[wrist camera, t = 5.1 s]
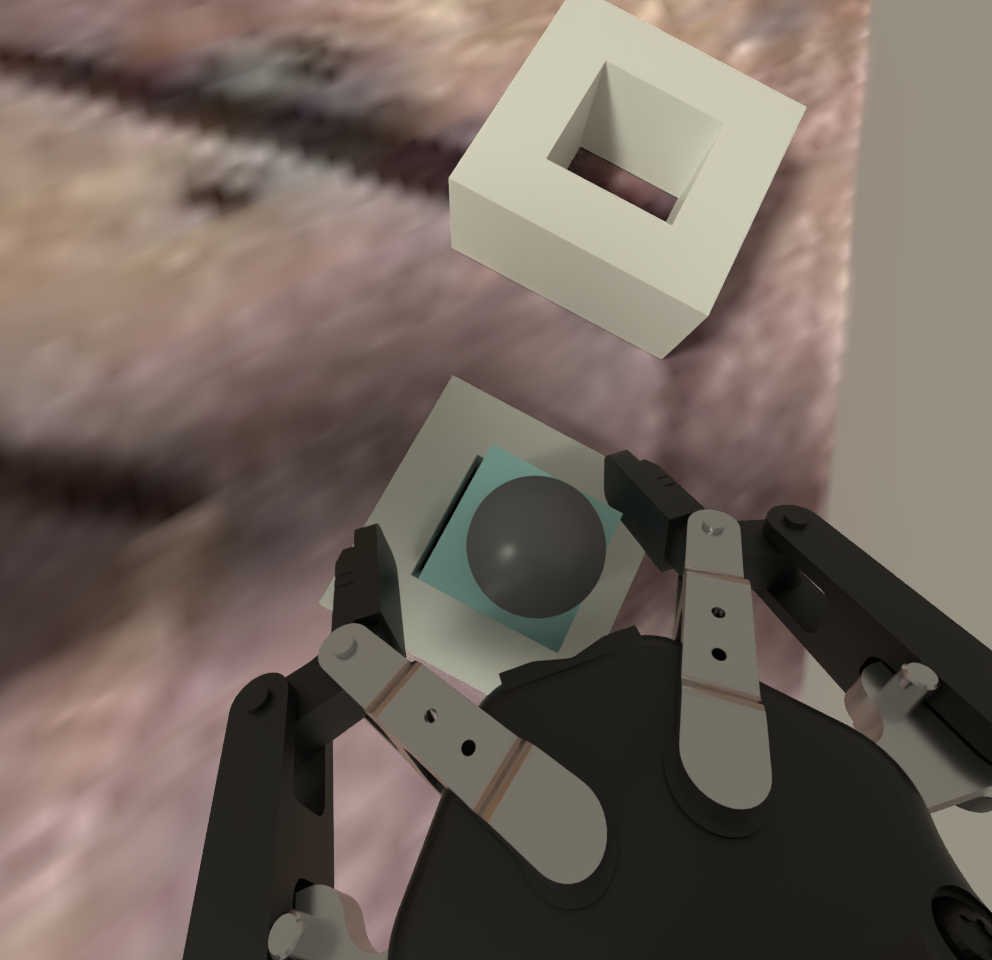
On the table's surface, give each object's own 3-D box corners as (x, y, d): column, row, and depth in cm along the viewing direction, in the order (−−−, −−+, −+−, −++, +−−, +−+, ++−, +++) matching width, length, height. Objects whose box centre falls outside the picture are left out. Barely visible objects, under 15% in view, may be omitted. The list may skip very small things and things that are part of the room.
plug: (437, 563, 18) (406, 586, 8) (480, 485, 19) (498, 421, 9) (517, 606, 18) (580, 679, 8) (556, 526, 19) (657, 506, 9)
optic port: (451, 247, 21) (448, 178, 17) (556, 82, 23) (575, -15, 19) (661, 359, 21) (708, 315, 17) (746, 183, 23) (806, 107, 19)
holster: (342, 593, 18) (318, 603, 15) (454, 401, 19) (452, 374, 16) (546, 703, 18) (563, 735, 15) (640, 500, 19) (672, 492, 16)
